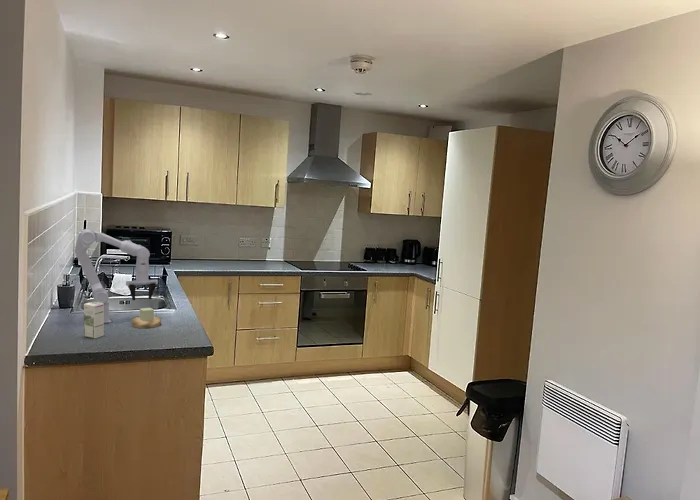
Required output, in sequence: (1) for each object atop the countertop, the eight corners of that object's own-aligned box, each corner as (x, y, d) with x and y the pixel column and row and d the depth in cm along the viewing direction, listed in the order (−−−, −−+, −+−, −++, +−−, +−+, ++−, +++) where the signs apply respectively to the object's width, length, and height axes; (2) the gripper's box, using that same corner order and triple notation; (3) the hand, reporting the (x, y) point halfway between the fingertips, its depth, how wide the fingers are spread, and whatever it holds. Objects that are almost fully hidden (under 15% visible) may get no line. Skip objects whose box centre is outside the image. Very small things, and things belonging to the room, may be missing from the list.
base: (136, 329, 244) (136, 324, 244) (128, 322, 254) (128, 317, 254) (164, 326, 252) (164, 321, 251) (155, 320, 262) (156, 315, 262)
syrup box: (104, 335, 232) (104, 302, 230) (93, 338, 226) (93, 305, 224) (93, 333, 233) (94, 301, 232) (83, 336, 228) (83, 303, 226)
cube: (142, 321, 249) (142, 310, 248) (139, 318, 253) (139, 308, 252) (153, 320, 252) (153, 309, 252) (150, 317, 256) (150, 307, 255)
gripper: (129, 273, 252) (128, 302, 253) (160, 272, 261) (159, 299, 262) (124, 271, 257) (124, 299, 259) (155, 270, 266) (154, 297, 268)
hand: (141, 299), depth 261 cm, fingers open, 7 cm apart
